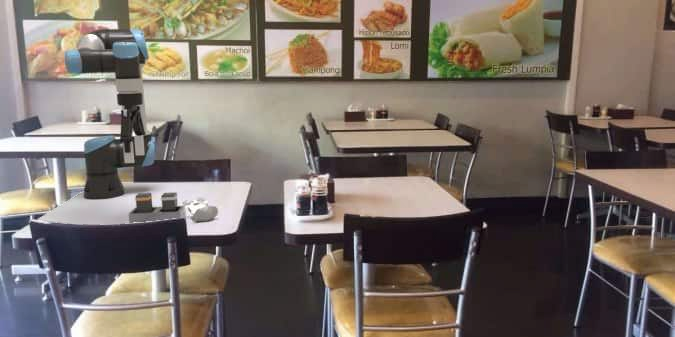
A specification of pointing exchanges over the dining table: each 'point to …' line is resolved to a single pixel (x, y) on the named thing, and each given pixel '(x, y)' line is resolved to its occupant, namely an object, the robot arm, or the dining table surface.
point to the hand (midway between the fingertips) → (135, 158)
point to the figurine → (201, 210)
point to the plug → (144, 202)
